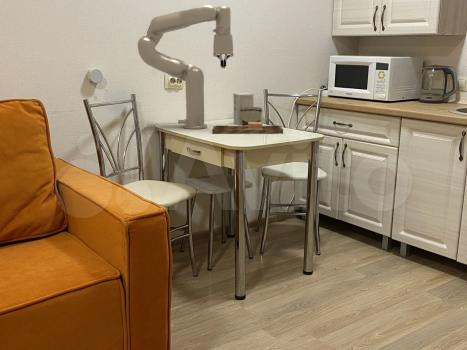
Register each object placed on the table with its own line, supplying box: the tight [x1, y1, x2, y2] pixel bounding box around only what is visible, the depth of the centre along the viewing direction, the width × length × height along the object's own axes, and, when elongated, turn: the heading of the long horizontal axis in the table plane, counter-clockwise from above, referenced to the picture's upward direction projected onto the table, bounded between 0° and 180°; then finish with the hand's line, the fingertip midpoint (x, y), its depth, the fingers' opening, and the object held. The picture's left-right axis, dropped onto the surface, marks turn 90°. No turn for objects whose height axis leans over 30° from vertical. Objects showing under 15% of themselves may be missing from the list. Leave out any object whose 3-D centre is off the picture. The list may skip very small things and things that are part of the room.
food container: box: [240, 106, 263, 126], centre depth 279 cm, size 12×6×10 cm, turn 84°
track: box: [211, 125, 284, 135], centre depth 261 cm, size 35×12×2 cm, turn 90°
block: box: [248, 121, 263, 129], centre depth 262 cm, size 7×7×4 cm
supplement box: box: [232, 92, 255, 126], centre depth 287 cm, size 10×9×17 cm
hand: (223, 68), depth 269 cm, fingers closed
